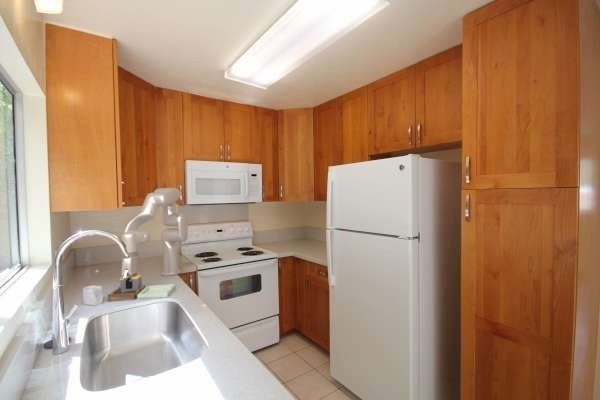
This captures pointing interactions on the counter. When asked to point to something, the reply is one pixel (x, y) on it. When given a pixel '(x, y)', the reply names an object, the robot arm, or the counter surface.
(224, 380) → the counter surface
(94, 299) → the medicine box
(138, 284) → the caddy
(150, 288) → the tray
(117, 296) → the bay
